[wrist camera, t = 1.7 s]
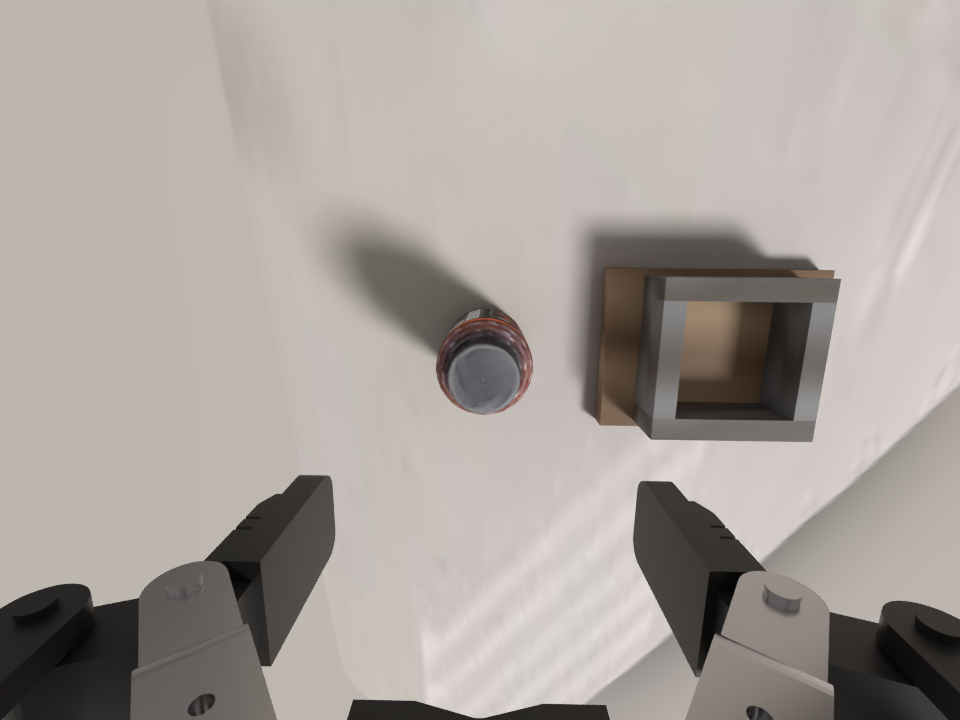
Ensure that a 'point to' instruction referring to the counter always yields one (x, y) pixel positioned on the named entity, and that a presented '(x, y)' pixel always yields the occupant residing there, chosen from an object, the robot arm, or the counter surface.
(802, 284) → the socket stand
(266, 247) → the counter surface
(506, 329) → the supplement bottle
